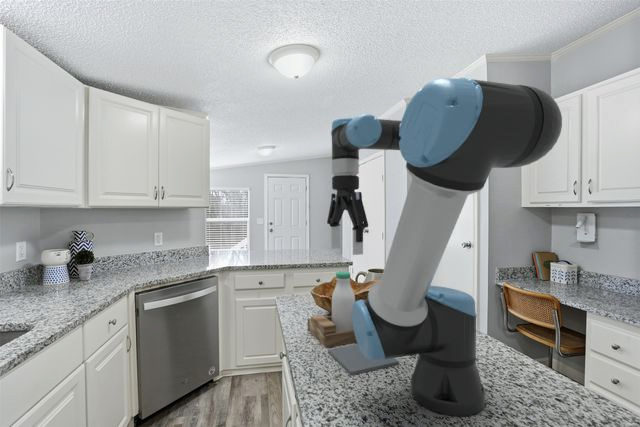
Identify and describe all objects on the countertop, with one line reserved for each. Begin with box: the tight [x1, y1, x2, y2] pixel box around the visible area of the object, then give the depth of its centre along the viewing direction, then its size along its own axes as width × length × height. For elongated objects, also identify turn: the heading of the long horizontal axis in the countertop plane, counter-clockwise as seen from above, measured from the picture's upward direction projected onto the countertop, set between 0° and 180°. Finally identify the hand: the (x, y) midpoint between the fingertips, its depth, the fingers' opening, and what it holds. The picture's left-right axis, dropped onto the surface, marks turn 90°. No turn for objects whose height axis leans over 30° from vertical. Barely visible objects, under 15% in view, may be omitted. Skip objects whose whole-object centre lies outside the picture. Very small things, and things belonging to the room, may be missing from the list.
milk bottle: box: [331, 270, 356, 333], centre depth 109 cm, size 8×8×20 cm
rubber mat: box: [327, 343, 400, 376], centre depth 91 cm, size 14×14×1 cm
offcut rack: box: [307, 314, 357, 349], centre depth 108 cm, size 16×16×8 cm
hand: (345, 251), depth 94 cm, fingers open, 13 cm apart
